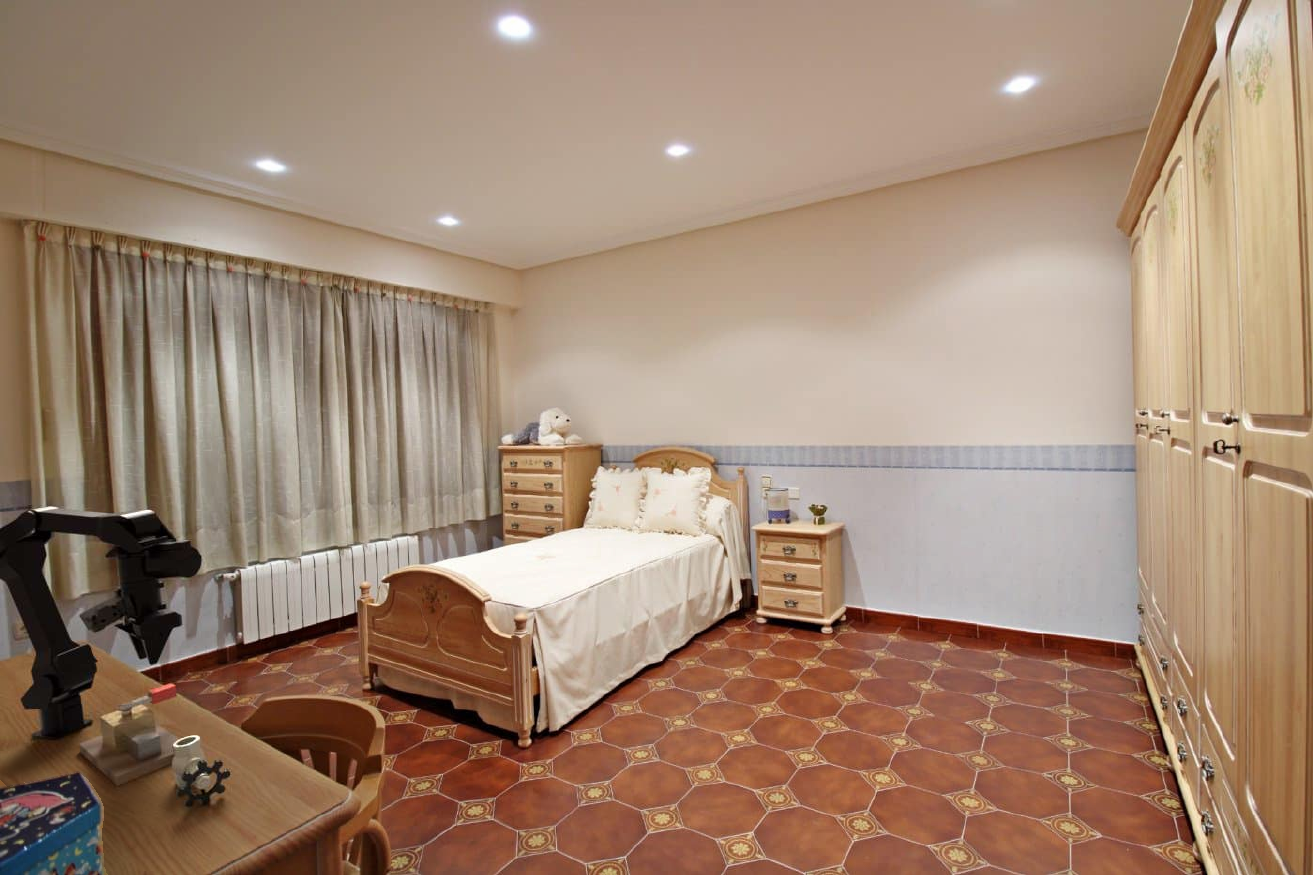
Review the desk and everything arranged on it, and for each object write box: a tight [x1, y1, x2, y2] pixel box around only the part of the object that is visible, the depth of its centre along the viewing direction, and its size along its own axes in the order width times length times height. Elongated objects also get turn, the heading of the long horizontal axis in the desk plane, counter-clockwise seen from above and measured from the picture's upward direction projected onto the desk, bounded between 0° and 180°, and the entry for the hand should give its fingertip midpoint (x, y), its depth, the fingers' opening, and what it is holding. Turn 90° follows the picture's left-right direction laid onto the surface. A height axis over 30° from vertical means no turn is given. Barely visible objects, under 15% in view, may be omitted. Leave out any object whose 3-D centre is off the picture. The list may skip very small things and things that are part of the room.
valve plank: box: [78, 722, 181, 787], centre depth 109 cm, size 20×10×2 cm, turn 56°
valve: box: [171, 735, 231, 808], centre depth 97 cm, size 7×7×12 cm
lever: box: [118, 682, 178, 711], centre depth 112 cm, size 8×2×2 cm, turn 146°
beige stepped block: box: [99, 704, 162, 761], centre depth 109 cm, size 16×6×6 cm, turn 56°
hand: (148, 661), depth 117 cm, fingers open, 5 cm apart
